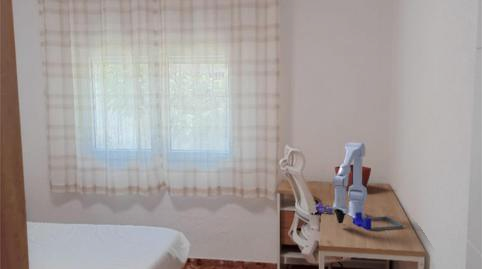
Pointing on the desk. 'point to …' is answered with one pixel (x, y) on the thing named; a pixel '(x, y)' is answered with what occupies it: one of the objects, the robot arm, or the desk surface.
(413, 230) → the desk surface
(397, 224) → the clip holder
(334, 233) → the desk surface
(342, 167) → the robot arm
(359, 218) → the cable clip
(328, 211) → the toy race car
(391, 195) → the desk surface
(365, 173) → the plant pot
